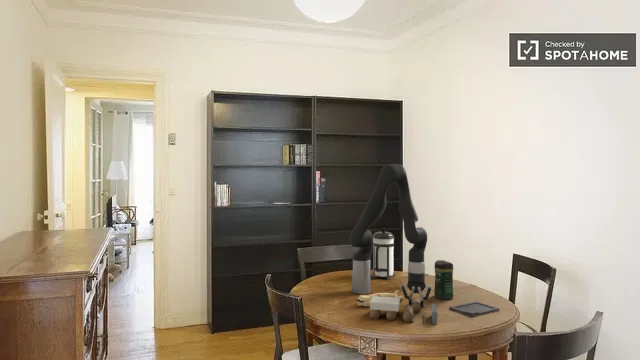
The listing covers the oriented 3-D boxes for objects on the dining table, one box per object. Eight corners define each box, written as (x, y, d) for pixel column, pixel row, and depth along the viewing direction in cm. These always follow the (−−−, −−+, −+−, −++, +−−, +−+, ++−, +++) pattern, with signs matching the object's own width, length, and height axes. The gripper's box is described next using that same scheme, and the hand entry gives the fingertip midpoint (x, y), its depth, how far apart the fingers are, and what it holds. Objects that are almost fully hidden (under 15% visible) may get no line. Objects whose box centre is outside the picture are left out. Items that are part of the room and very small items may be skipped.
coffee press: (365, 275, 275) (365, 226, 274) (390, 274, 279) (390, 226, 278) (375, 282, 258) (376, 230, 257) (401, 280, 262) (401, 229, 261)
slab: (370, 309, 193) (370, 302, 193) (373, 302, 203) (373, 296, 203) (398, 311, 190) (398, 304, 190) (399, 304, 200) (399, 298, 200)
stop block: (432, 324, 186) (432, 312, 186) (431, 315, 197) (431, 304, 197) (437, 324, 185) (437, 312, 185) (436, 315, 197) (436, 304, 197)
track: (369, 319, 192) (369, 309, 192) (373, 310, 204) (373, 302, 204) (425, 323, 186) (425, 314, 186) (425, 314, 198) (425, 305, 198)
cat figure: (392, 300, 226) (351, 303, 214) (393, 283, 226) (352, 284, 214) (405, 305, 217) (362, 308, 205) (406, 287, 217) (364, 289, 205)
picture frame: (472, 318, 195) (499, 311, 204) (472, 313, 195) (499, 307, 204) (449, 310, 207) (475, 304, 216) (449, 305, 207) (475, 300, 216)
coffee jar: (455, 299, 223) (456, 262, 222) (441, 300, 220) (442, 263, 220) (445, 294, 232) (445, 258, 232) (431, 295, 230) (432, 259, 230)
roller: (411, 313, 201) (411, 304, 201) (412, 305, 212) (412, 297, 212) (420, 314, 200) (420, 305, 200) (420, 306, 211) (421, 298, 211)
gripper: (400, 272, 204) (400, 309, 204) (432, 273, 200) (432, 311, 201) (401, 268, 211) (401, 304, 211) (432, 270, 208) (432, 306, 208)
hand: (416, 307), depth 206 cm, fingers closed on roller, 4 cm apart
